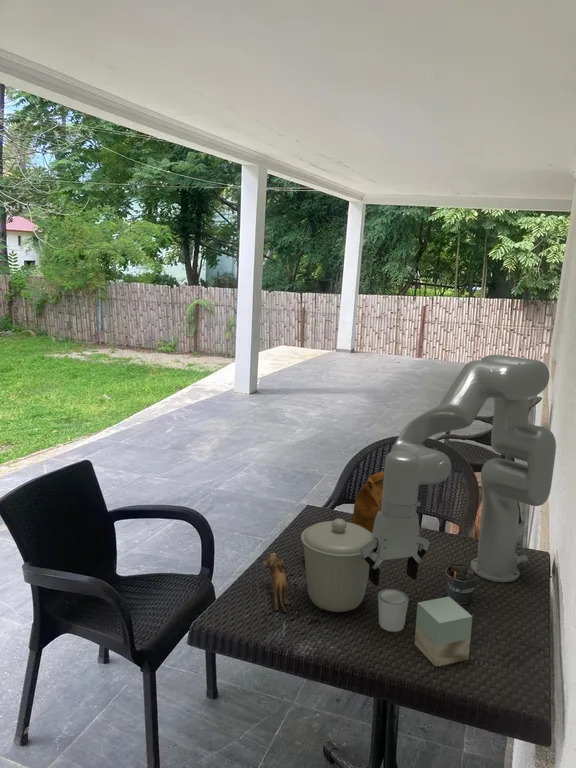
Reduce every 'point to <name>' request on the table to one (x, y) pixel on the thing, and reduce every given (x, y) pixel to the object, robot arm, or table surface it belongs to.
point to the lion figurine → (277, 578)
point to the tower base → (441, 649)
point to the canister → (336, 564)
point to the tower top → (444, 620)
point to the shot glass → (392, 609)
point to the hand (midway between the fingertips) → (392, 579)
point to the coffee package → (369, 502)
